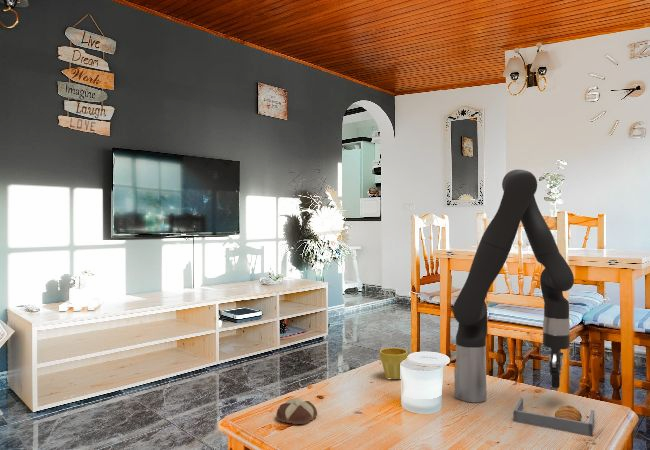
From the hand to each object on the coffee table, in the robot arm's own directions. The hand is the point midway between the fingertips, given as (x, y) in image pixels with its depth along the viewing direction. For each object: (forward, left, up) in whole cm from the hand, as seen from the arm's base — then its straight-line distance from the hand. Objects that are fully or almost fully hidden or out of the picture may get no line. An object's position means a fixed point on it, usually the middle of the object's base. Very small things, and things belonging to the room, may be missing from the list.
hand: (555, 386), depth 151 cm
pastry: (+5, -13, -6) cm, 15 cm away
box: (+1, -14, -5) cm, 15 cm away
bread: (-64, -49, -6) cm, 81 cm away
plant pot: (-54, -1, -5) cm, 54 cm away
